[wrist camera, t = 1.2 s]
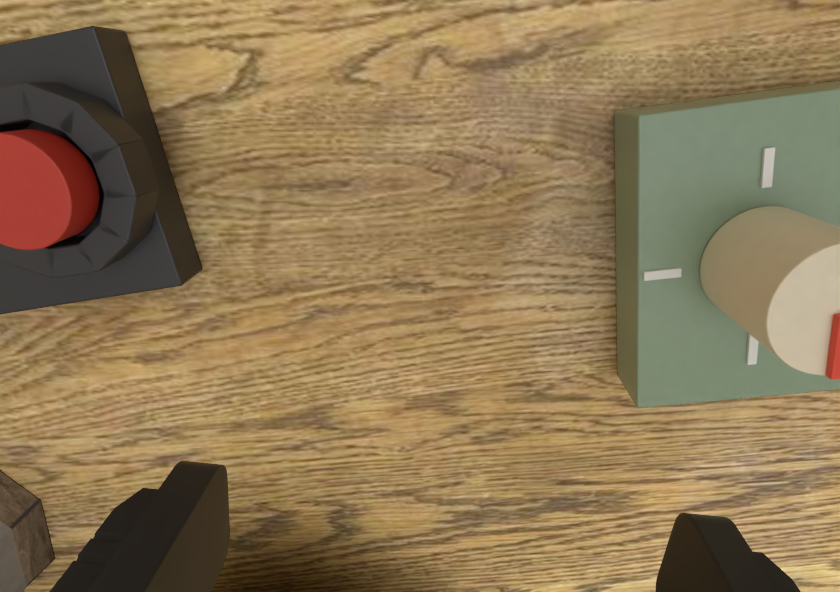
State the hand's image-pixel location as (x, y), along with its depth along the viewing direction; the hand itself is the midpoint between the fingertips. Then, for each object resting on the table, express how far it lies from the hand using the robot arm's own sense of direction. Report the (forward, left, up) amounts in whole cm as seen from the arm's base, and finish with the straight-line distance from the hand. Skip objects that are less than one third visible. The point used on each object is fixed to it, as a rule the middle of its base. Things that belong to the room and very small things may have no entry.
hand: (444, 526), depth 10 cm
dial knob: (-10, +6, -13) cm, 18 cm away
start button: (+10, -11, -12) cm, 20 cm away
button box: (+14, -13, -16) cm, 25 cm away
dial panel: (-10, +6, -16) cm, 20 cm away
